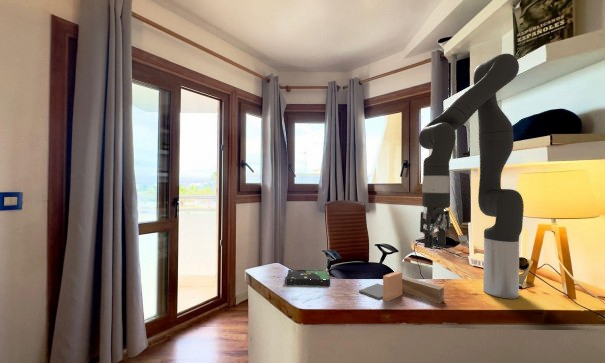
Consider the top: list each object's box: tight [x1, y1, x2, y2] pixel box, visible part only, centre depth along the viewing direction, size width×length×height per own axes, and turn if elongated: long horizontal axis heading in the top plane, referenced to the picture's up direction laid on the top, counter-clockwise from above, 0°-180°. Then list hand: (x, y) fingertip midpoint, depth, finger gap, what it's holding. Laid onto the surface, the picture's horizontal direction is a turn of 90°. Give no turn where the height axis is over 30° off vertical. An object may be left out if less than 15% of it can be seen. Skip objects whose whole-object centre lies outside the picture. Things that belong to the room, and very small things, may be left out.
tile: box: [382, 270, 403, 302], centre depth 86 cm, size 8×2×7 cm, turn 131°
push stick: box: [402, 275, 445, 304], centre depth 89 cm, size 3×16×4 cm, turn 41°
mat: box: [358, 283, 383, 301], centre depth 89 cm, size 10×7×1 cm
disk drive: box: [285, 269, 331, 287], centre depth 99 cm, size 10×3×15 cm
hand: (435, 245), depth 84 cm, fingers open, 8 cm apart
